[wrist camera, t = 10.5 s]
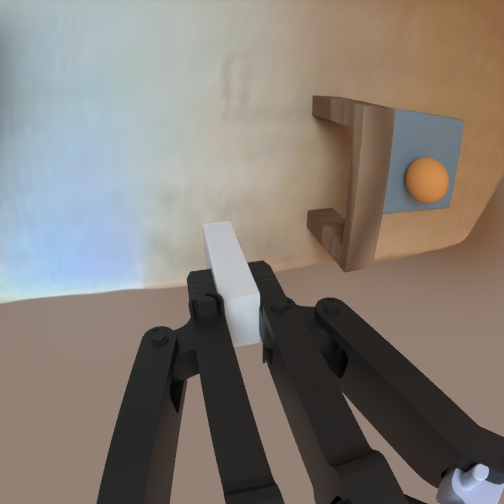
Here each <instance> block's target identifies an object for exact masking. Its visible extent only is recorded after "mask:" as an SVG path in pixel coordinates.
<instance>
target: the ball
mask: <svg viewBox="0 0 504 504" xmlns="http://www.w3.org/2000/svg"><path fill="white" fill-rule="evenodd" d="M406 184H407V188H408V190H409V192H410V193H411V195H412V196H413V197H414V198H415V199H417V200H419V201H421V202H424V203H434V202H437V201H438V200H440V199H441V198H442V197H443V196H444V195H445V194H446V192H447V189H448V186H449V178H448V174H447V171H446V169H445V168H444V166H443V165H442V164H441V163H440V162H439V161H437V160H435V159H433V158H429V157H423V158H419V159H417V160H415V161H414V162H413V163H412V164H411V165H410V166H409V168H408V170H407V173H406Z"/></svg>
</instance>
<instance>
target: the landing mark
mask: <svg viewBox="0 0 504 504" xmlns="http://www.w3.org/2000/svg"><path fill="white" fill-rule="evenodd" d="M463 122H464V121H462V120H457V119H452V118H447V117H442V116H436V115H430V114H424V113H418V112H411V111H404V110H397V109H395V118H394V130H393V140H392V149H391V158H390V166H389V174H388V181H387V188H386V195H385V201H384V207H383V213H382V214H384V213H395V212H405V211H416V210H427V209H438V208H449V204H450V199H451V195H452V190H453V185H454V180H455V175H456V170H457V164H458V158H459V152H460V145H461V138H462V130H463ZM423 157H429V158H433V159H435V160H437V161H439V162H440V163H441V164H442V165H443V166H444V168H445V169H446V171H447V174H448V178H449V186H448V189H447V192H446V194H445V195H444V196H443V197H442V198H441V199H440V200H438V201H437V202H434V203H424V202H421V201H419V200H417V199H415V198H414V197H413V196H412V195H411V193H410V192H409V190H408V188H407V184H406V173H407V170H408V168H409V166H410V165H411V164H412V163H413V162H414V161H415V160H417V159H419V158H423Z"/></svg>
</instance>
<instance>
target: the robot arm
mask: <svg viewBox="0 0 504 504" xmlns="http://www.w3.org/2000/svg"><path fill="white" fill-rule="evenodd" d="M202 226H203V236H204V245H205V255H206V264H207V269H206V270H199V271H192V272H190V273H189V275H188V277H187V285H188V293H189V310H190V315H191V318H190V320H189V321H188V323H187V324H186V325H184V326H183V327H181V328H179V329H177V330H174V331H173V330H172V329H170V328H168V327H163V326H161V327H155V328H152V329H150V330H148V331H147V332H146V333H145V334H144V336H143V338H142V340H141V344H140V346H139V349H138V352H137V355H136V359H135V362H134V365H133V368H132V371H131V375H130V378H129V381H128V384H127V387H126V391H125V394H124V397H123V401H122V404H121V408H120V411H119V415H118V418H117V422H116V426H115V429H114V433H113V436H112V440H111V444H110V448H109V452H108V456H107V460H106V464H105V468H104V473H103V476H102V481H101V485H100V490H99V494H98V499H97V504H169V503H170V495H171V487H172V480H173V473H174V465H175V458H176V451H177V444H178V437H179V430H180V423H181V417H182V411H183V404H184V398H185V392H186V386H187V379H188V378H190V377H192V376H194V375H196V374H199V373H200V378H201V384H202V390H203V396H204V401H205V407H206V412H207V417H208V422H209V427H210V432H211V437H212V442H213V447H214V451H215V456H216V461H217V465H218V469H219V474H220V478H221V483H222V486H223V492H224V498H225V502H226V504H284V501H283V498H282V495H281V492H280V490H279V488H278V485H277V484H276V483H275V481H274V479H273V477H272V473H271V471H270V467H269V464H268V461H267V458H266V455H265V452H264V448H263V445H262V442H261V439H260V436H259V432H258V429H257V426H256V423H255V419H254V416H253V413H252V409H251V406H250V403H249V399H248V396H247V393H246V389H245V385H244V382H243V379H242V375H241V371H240V368H239V364H238V361H237V357H236V354H235V351H234V348H235V347H240V346H245V345H251V344H257V343H260V336H261V339H262V342H263V363H265V361H266V362H267V364H268V367H269V370H270V373H271V375H272V378H273V381H274V384H275V387H276V389H277V392H278V395H279V398H280V400H281V403H282V406H283V408H284V411H285V414H286V417H287V419H288V422H289V425H290V428H291V430H292V433H293V436H294V438H295V441H296V443H297V446H298V449H299V452H300V454H301V457H302V460H303V462H304V465H305V467H306V470H307V473H308V475H309V478H310V481H311V483H312V486H313V489H314V498H315V502H316V504H427V503H424V502H422V501H420V500H417V499H415V498H412V497H410V496H408V495H405V494H404V493H403V492H402V490H401V488H400V486H399V484H398V482H397V480H396V478H395V476H394V474H393V472H392V470H391V468H390V466H389V464H388V463H387V460H386V459H385V457H384V456H383V454H381V453H380V452H379V451H376V450H373V449H371V447H370V446H369V444H368V442H367V440H366V438H365V436H364V435H363V433H362V431H361V429H360V427H359V425H358V423H357V421H356V419H355V417H354V415H353V413H352V411H351V409H350V407H349V405H348V403H347V401H346V399H345V397H344V395H343V394H342V392H343V393H344V394H345V395H346V396H347V398H348V399H349V400H350V401H351V402H352V403H353V404H354V406H356V408H357V409H358V410H359V411H360V412H361V413H362V414H363V416H364V417H365V418H366V419H367V420H368V421H369V422H370V423H371V424H372V425H373V427H374V428H375V429H376V430H377V431H378V432H379V433H380V434H381V435H382V436H383V438H384V439H385V440H386V441H387V442H388V443H389V444H390V445H391V446H392V447H393V448H394V450H395V451H396V452H397V453H398V454H399V455H400V456H401V457H402V458H403V459H404V460H405V461H406V462H407V464H408V465H409V466H410V467H411V468H412V469H413V470H414V471H415V472H416V473H417V474H418V475H419V476H420V477H421V478H422V479H424V480H425V481H427V482H428V483H429V484H431V485H432V486H434V487H436V488H438V493H437V496H436V499H437V501H438V503H440V504H498V501H499V499H500V496H501V493H502V491H503V488H504V437H502V436H500V435H498V434H496V433H493V432H491V431H489V430H487V429H484V428H482V427H480V426H478V425H477V424H476V423H475V422H474V421H473V420H472V419H471V418H470V417H469V416H468V415H467V414H465V412H464V411H463V410H461V409H460V408H459V407H458V406H457V405H456V404H455V403H454V402H453V401H452V400H451V399H450V398H449V397H448V396H447V395H445V394H444V393H443V392H442V391H441V390H440V389H439V388H438V387H437V386H436V385H434V383H433V382H431V381H430V380H429V379H428V378H427V377H426V376H425V375H424V374H423V373H422V372H420V371H419V370H418V369H417V368H416V367H415V366H414V365H413V364H412V363H411V362H410V361H409V360H408V359H406V358H405V357H404V356H403V355H402V354H401V353H400V352H399V351H398V350H396V349H395V348H394V347H393V346H392V345H391V344H390V343H389V342H388V341H386V340H385V339H384V338H383V337H382V336H381V335H380V334H379V333H378V332H377V331H375V330H374V329H373V328H372V327H371V326H370V325H369V324H368V323H366V322H365V321H364V320H363V319H362V318H361V317H360V316H359V315H358V314H356V313H355V312H354V311H353V310H352V309H351V308H350V307H348V306H347V305H346V304H345V303H344V302H342V301H341V300H339V299H336V298H323V299H321V300H319V301H318V302H317V304H316V306H315V307H305V306H299V305H296V304H295V302H294V301H293V300H292V299H290V298H288V297H286V296H285V294H284V292H283V290H282V288H281V286H280V284H279V282H278V280H277V279H276V276H275V274H274V273H273V271H272V269H271V267H270V265H268V264H267V263H266V262H264V261H257V262H250V263H247V262H246V259H245V257H244V254H243V252H242V250H241V247H240V245H239V242H238V240H237V238H236V235H235V233H234V230H233V228H232V225H231V223H230V221H221V222H213V223H205V224H202ZM341 391H342V392H341Z"/></svg>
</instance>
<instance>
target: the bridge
mask: <svg viewBox="0 0 504 504" xmlns="http://www.w3.org/2000/svg"><path fill="white" fill-rule="evenodd" d="M312 115H314V116H318V117H321V118H324V119H327V120H330V121H333V122H336V123H339V124H342V125H345V126H348V127H351V128H354V135H353V149H352V161H351V172H350V182H349V192H348V201H347V209H346V217H345V219H344V218H343V217H341V216H340V215H339V214H338V213H337V212H336V211H335V210H334V209H333V208H329V209H319V210H309V211H308V217H307V228H308V229H309V230H310V231H311V232H312V234H313V235H314V236H315V237H316V238H317V239H318V241H319V242H320V243H321V244H322V245H323V247H324V248H325V249H326V250H327V251H328V253H329V254H330V255H331V256H332V258H333V259H334V260H335V261H336V262H337V264H338V265H339V266H340V267H341V269H342V270H343V271H344V272H349V271H354V270H360V269H365V268H370V267H372V265H373V260H374V255H375V251H376V246H377V241H378V235H379V230H380V225H381V219H382V213H383V207H384V201H385V195H386V188H387V181H388V174H389V166H390V158H391V149H392V140H393V130H394V118H395V109H393V108H389V107H385V106H380V105H376V104H371V103H367V102H362V101H357V100H352V99H347V98H342V97H330V96H313V112H312Z"/></svg>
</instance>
